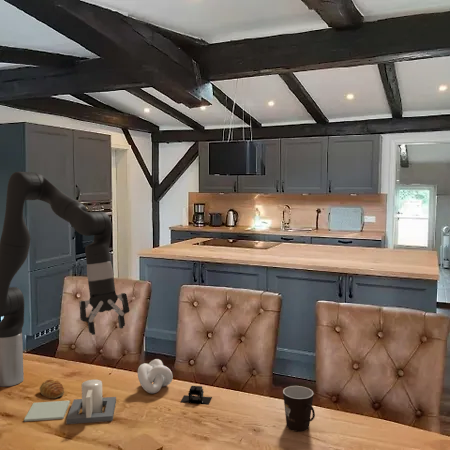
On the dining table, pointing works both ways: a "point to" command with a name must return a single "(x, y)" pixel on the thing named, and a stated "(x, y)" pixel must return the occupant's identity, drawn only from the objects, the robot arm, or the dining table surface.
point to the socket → (95, 417)
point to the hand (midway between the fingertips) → (107, 331)
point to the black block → (196, 399)
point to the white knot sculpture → (154, 376)
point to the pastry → (52, 389)
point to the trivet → (47, 411)
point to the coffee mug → (298, 407)
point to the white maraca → (92, 397)
